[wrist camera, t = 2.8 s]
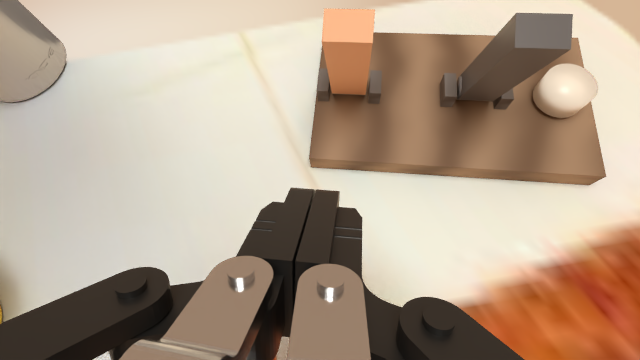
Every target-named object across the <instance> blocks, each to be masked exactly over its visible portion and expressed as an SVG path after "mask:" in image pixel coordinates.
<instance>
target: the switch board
mask: <svg viewBox="0 0 640 360" xmlns="http://www.w3.org/2000/svg"><path fill="white" fill-rule="evenodd" d="M494 37H495V36H487V35H449V34H411V33H373V44H372V51H371V59H370V66H369V73H368V81H367V88H366V95H346V94H332V91H331V86H330V81H329V75H328V70H327V65H326V60H325V55H324V50H323V45H322V53H321V61H320V68H319V76H318V84H317V96H316V104H315V113H314V121H313V130H312V138H311V147H310V155H309V160H310V164H311V167H318V168H334V169H349V170H365V171H380V172H396V173H411V174H427V175H443V176H458V177H474V178H489V179H505V180H521V181H536V182H552V183H567V184H583V185H590V184H592V183H594V182H596V181H598V180H600V179H602V178H604V177H606V173H605V169H604V164H603V159H602V154H601V149H600V144H599V139H598V134H597V129H596V124H595V120H594V115H593V110H592V105H591V101H590V102H589V103H588V104H587V105H586V106H584V107H583V108H582V109H581V110H580V111H578V112H577V113H576V114H575V115H573V116H570V117H566V118H557V117H553V116H550V115H547V114H546V113H544V112H543V111H541V110H540V109H539V108H538V107H537V105H536V104H535V102H534V100H533V90H534V88H535V86H536V85H537V84H538V82H539V81H540V80H541V79H542V78H543V77H544V75H545V74H546V73H547V72H548V71H549V70H550V69H551V68H552V67H554V66H556V65H559V64H575V65H578V66H581V67H583V68H584V66H583V61H582V56H581V51H580V46H579V41H578V38H572V39H571V50H569V51H568V52H566V53H565V54H563V55H562V56H560V57H559V58H557V59H556V60H554V61H553V62H551V63H550V64H548V65H547V66H545V67H544V68H542V69H541V70H539V71H538V72H536V73H535V74H533V75H532V76H530V77H529V78H527V79H526V80H524V81H523V82H521V83H520V84H518V85H517V86H515V87H514V88H512V89H511V90H509V91H508V92H506V93H505V94H503V95H502V96H500V97H499V98H497V99H496V100H494V101H475V100H456V98H457V79H458V77H459V76H460V75H461V74H462V73H463V72H464V71H465V69H466V68H467V67H468V66H469V65H470V64H471V63H472V62H473V61H474V59H475V58H476V57H477V56H478V55H479V54H480V53H481V52H482V51H483V49H484V48H485V47H486V46H487V45H488V44H489V43H490V42H491V41H492V39H493V38H494Z"/></svg>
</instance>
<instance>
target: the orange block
mask: <svg viewBox="0 0 640 360" xmlns="http://www.w3.org/2000/svg"><path fill="white" fill-rule="evenodd" d="M374 15H375V10H369V9H324V19H323V33H322V45H323V50H324V55H325V60H326V65H327V70H328V75H329V81H330V86H331V91H332V94H346V95H366V88H367V81H368V73H369V66H370V59H371V51H372V44H373V30H374Z"/></svg>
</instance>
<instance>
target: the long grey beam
mask: <svg viewBox="0 0 640 360" xmlns="http://www.w3.org/2000/svg"><path fill="white" fill-rule="evenodd" d="M572 17H573V14H542V13H516V14H515V15H514V16H513V17H512V18H511V20H510V21H509V22H508V23H507V24H506V25H505V26H504V27H503V28H502V30H501V31H500V32H499V33H498V34H497V35H496V36H495V37H494V38H493V39H492V41H491V42H490V43H489V44H488V45H487V46H486V47H485V48H484V49H483V51H482V52H481V53H480V54H479V55H478V56H477V57H476V58H475V59H474V61H473V62H472V63H471V64H470V65H469V66H468V67H467V68H466V69H465V71H464V72H463V73H462V74H461V75H460V76H459V77H458V79H457V98H456V100H475V101H494V100H496V99H497V98H499V97H500V96H502V95H503V94H505V93H506V92H508V91H509V90H511V89H512V88H514V87H515V86H517V85H518V84H520V83H521V82H523V81H524V80H526V79H527V78H529V77H530V76H532V75H533V74H535V73H536V72H538V71H539V70H541V69H542V68H544V67H545V66H547V65H548V64H550V63H551V62H553V61H554V60H556V59H557V58H559V57H560V56H562V55H563V54H565V53H566V52H568V51H569V50H571V39H572Z"/></svg>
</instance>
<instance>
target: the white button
mask: <svg viewBox="0 0 640 360" xmlns="http://www.w3.org/2000/svg"><path fill="white" fill-rule="evenodd" d="M597 92H598V84H597V81H596V79H595V78H594V76H593V75H592V74H591V73H590V72H589V71H588V70H586V69H585V68H583V67H581V66H578V65H575V64H559V65H556V66H554V67H552V68H551V69H550V70H549V71H548V72H547V73H546V74H545V75H544V77H543V78H542V79H541V80H540V81H539V82H538V84H537V85H536V86H535V88H534V90H533V100H534V102H535V104H536V105H537V107H538V108H539V109H540V110H541V111H543V112H544V113H546V114H547V115H550V116H553V117H557V118H566V117H570V116H573V115H575V114H576V113H577V112H578V111H580V110H581V109H582V108H583V107H584V106H586V105H587V104H588V103H589V102H590V101H591V100H593V99H594V98H595V96H596V94H597Z"/></svg>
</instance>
